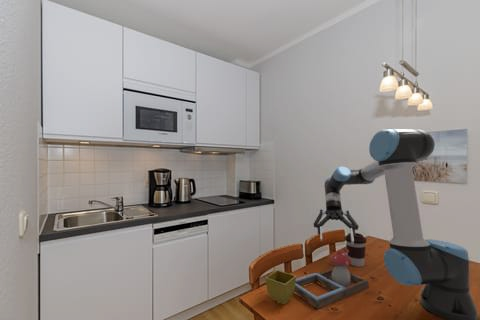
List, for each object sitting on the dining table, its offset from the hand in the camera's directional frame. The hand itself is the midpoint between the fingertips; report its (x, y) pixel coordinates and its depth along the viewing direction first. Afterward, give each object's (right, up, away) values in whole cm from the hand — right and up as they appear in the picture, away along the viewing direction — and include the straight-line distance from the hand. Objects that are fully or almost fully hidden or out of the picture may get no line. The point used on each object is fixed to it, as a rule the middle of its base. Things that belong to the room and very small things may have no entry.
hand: (336, 241), depth 110 cm
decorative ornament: (-2, -16, -9) cm, 18 cm away
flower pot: (-29, -16, -19) cm, 38 cm away
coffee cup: (+15, -16, +11) cm, 24 cm away
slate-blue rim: (-14, -13, -15) cm, 24 cm away
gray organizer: (-8, -16, -12) cm, 21 cm away
